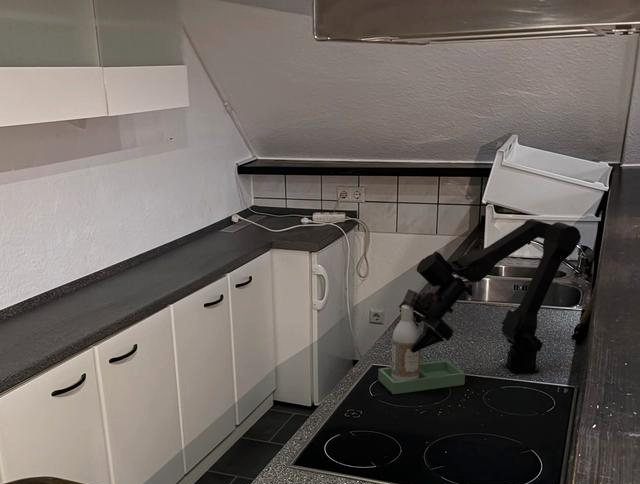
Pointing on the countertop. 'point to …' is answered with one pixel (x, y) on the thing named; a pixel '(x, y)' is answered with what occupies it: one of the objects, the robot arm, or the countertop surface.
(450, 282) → the robot arm
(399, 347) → the bath foam
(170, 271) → the countertop surface
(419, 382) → the tray
